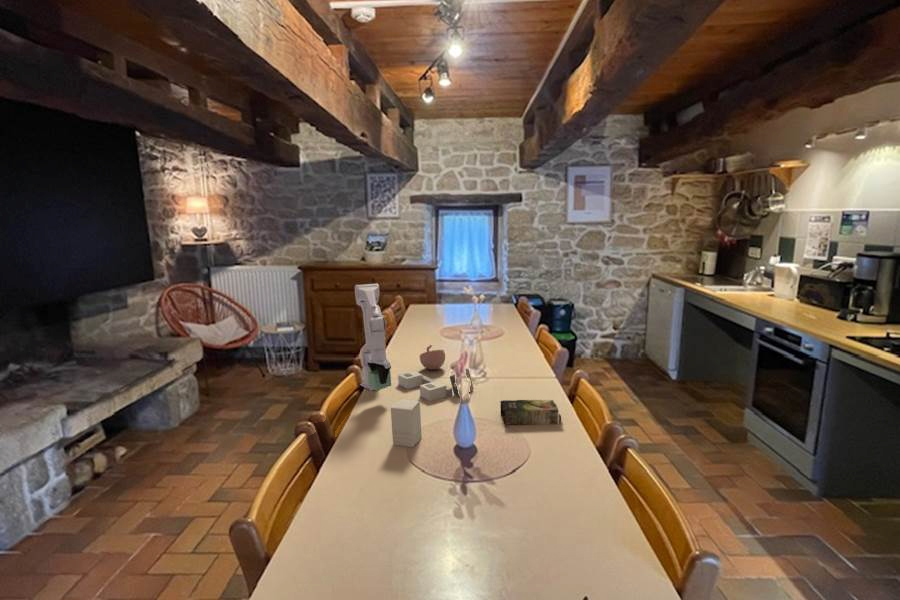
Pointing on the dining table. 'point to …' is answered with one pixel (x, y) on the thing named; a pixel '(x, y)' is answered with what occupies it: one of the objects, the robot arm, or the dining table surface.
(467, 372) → the electrical switch
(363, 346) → the robot arm
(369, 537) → the dining table surface
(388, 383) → the block
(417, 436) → the supplement box
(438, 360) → the reddish brown round piece
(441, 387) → the rail mount
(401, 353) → the dining table surface
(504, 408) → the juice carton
